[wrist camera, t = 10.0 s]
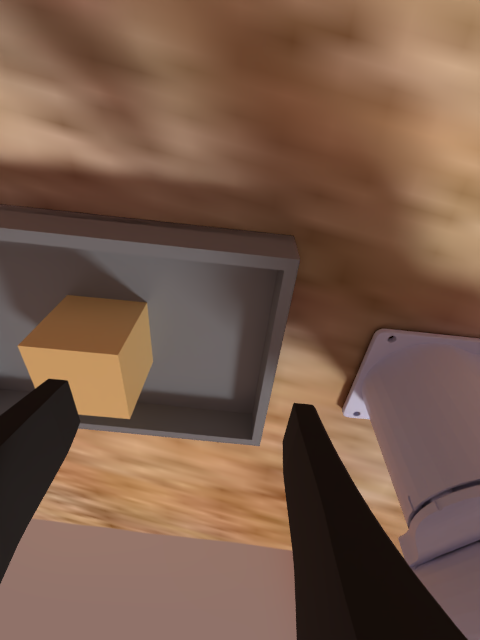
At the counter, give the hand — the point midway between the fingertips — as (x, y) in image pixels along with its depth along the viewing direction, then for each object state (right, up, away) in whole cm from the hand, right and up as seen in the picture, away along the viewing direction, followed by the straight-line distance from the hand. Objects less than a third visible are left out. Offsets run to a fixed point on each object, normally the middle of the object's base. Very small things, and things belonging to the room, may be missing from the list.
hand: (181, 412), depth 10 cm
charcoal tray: (-6, +3, +10) cm, 12 cm away
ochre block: (-6, +2, +9) cm, 11 cm away
